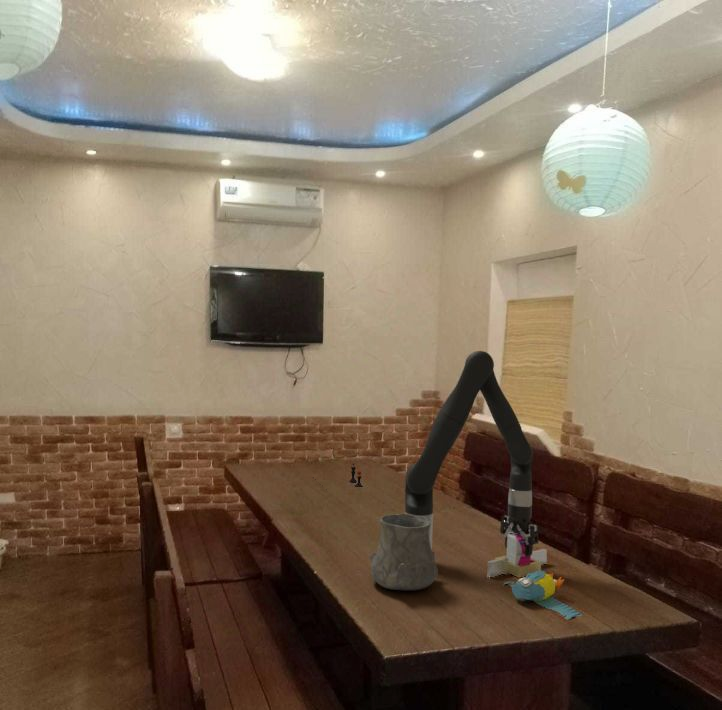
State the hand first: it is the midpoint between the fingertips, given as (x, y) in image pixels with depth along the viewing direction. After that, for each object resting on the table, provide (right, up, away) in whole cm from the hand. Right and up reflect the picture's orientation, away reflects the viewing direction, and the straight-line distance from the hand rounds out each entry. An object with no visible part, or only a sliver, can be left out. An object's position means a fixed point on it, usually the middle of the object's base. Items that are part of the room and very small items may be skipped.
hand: (518, 552), depth 209 cm
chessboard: (-52, -3, +121) cm, 132 cm away
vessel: (-39, -5, -15) cm, 42 cm away
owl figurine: (0, -7, -24) cm, 25 cm away
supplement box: (0, -6, 0) cm, 6 cm away
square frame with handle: (0, -6, 0) cm, 6 cm away
